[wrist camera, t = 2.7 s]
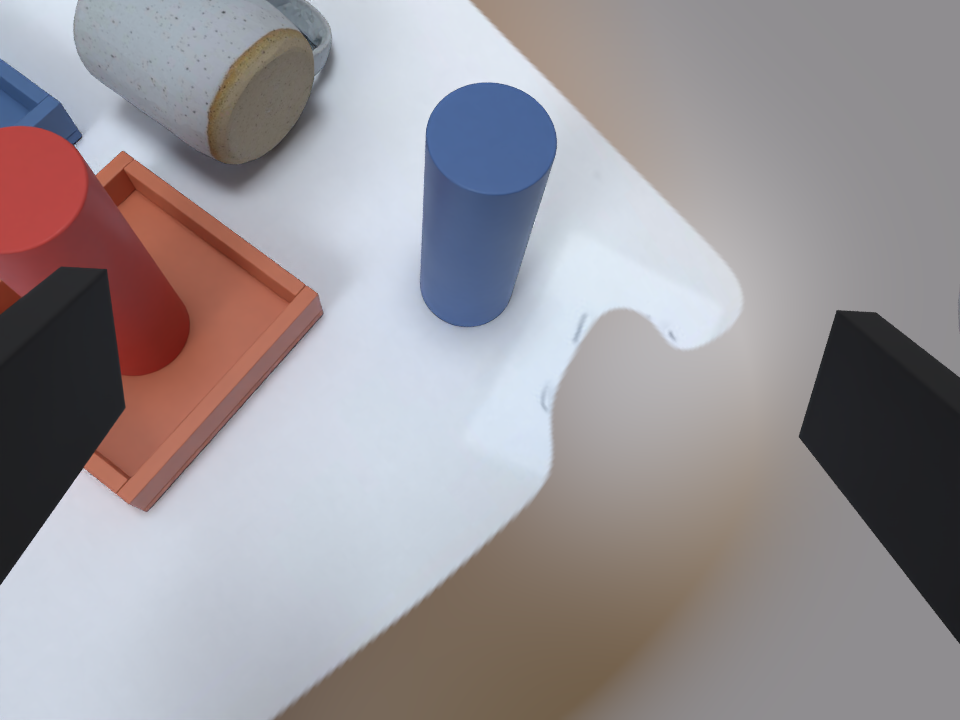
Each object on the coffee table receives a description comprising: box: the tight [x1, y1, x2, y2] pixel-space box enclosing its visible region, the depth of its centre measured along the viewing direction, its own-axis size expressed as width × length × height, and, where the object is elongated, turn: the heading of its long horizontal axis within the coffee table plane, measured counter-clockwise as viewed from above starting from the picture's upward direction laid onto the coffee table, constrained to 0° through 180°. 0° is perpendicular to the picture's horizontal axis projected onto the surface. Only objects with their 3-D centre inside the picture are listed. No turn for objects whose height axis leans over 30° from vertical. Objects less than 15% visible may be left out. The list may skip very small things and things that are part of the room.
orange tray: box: [0, 151, 323, 512], centre depth 34 cm, size 11×11×2 cm
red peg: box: [0, 126, 190, 376], centre depth 29 cm, size 4×4×12 cm
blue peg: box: [420, 83, 557, 327], centre depth 32 cm, size 4×4×12 cm
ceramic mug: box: [74, 0, 332, 164], centre depth 36 cm, size 11×8×8 cm
